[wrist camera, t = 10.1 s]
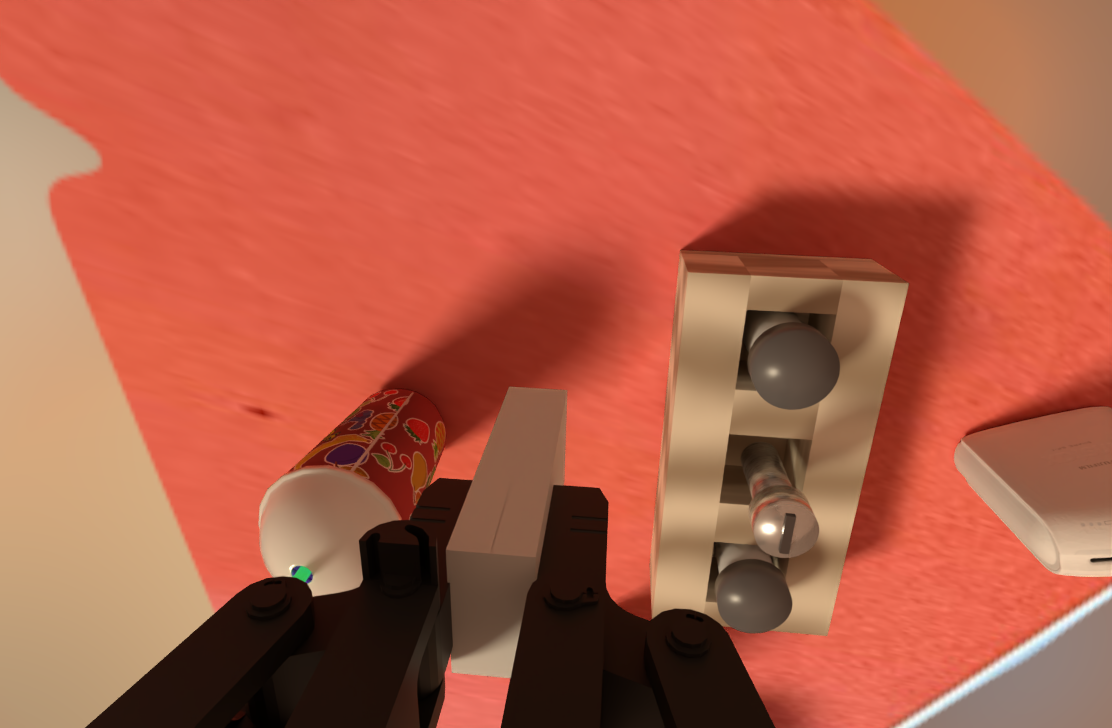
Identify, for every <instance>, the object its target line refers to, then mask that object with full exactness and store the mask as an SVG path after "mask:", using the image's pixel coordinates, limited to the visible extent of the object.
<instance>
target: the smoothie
mask: <svg viewBox="0 0 1112 728" xmlns="http://www.w3.org/2000/svg"><path fill="white" fill-rule="evenodd" d="M445 440H446V431H445V426H444V422H443V420H442V418H441V415H440V413H439V412H438V410H437V408H436V406H435V405H434V404H433V403H432V402H431V401H430V400H429V399H428V398H427V397H425V396H423V395H421V394H419V393H417V392H415V391H411V390H406V389H389V390H382V391H380V392H377V393H375V394H373V395H371V396H370V397H369V398H368V399H366V400H365V401H364V402H363V403H362V404H361V405H360V406H359V407H358V408H357V409H356V410H355V411H354V412H353V413H351V414H350V415H349V416H348V417H347V418H346V419H345V420H344V421H343V422H342V423H341V424H340V425H338V426H337V427H336V428H335V429H334V430H333V431H332V432H331V433H330V434H329V435H328V436H327V437H325V438H324V439H323V440H322V441H321V442H320V443H319V444H318V445H317V446H316V447H315V448H313V449H312V450H311V451H310V452H309V453H308V454H307V455H306V456H305V457H304V458H303V459H302V460H300V461H299V462H298V463H297V464H296V465H295V466H294V467H293V468H292V469H291V470H290V471H289V472H287V473H286V474H284V475H283V476H282V477H280V478H279V479H278V480H277V481H276V482H275V483H274V484H272V485H271V486H270V487H269V488H268V489H267V491H266V493H265V495H264V497H263V499H262V501H261V503H260V509H259V528H260V534H259V546H260V551H261V554H262V558H263V561H264V564H265V566H266V568H267V570H268V571H269V572H270V574H271V575H272V577H279V576H286V577H295V578H298V579H300V580H302V581H304V582H306V583H307V584H308V586H309V588H310V589H311V591H312V595H313V596H320V595H326V594H333V593H340V592H344V591H348V590H352V589H355V588H357V587H359V586H360V584H361V582H362V581H363V575H362V566H361V557H360V548H359V539H360V538H361V537H362V536H363V535H364V534H365V533H366V532H367V531H368V530H370V529H372V528H374V527H376V526H377V525H379V524H383V523H386V522H390V521H394V520H410V516H411V514H412V512H413V510H414V508H416V504H417V502H418V500H419V498H420V496H421V494H422V492H423V490H425V489H426V488H427V487H428V486H429V485H430V483H431V480H432V478H433V475H434V473H435V470H436V467H437V465H438V462H439V460H440V457H441V455H442V452H443V450H444V447H445Z"/></svg>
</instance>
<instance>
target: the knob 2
mask: <svg viewBox="0 0 1112 728" xmlns="http://www.w3.org/2000/svg"><path fill="white" fill-rule="evenodd" d="M714 549H715V554H716V559H717V564H718V569H719V575H718V577H717V579H716V582H715V595H716V600H717V606H718V611H719V614H720V616H721V617H722V619H723V620H724V621H725V622H726V623H727V624H728V625H729V626H731V627H732V628H734V629H736V630H739V631H742V632H746V633H763V632H767V631H770V630H773V629H775V628H777V627H778V626H780V625H781V624H783V623H784V622H785V621H786V620H787V618H788V617H789V615H790V613H791V610H792V597H791V594H790V591H789V588H788V585H787V582H786V579H785V577H784V575H783V573H782V572H781V571H780V570H779V569H778V568H777V567H776V566H774V565H773V564H772V561H771V557H770V555H769V554H767V553H766V552H764V551H763V550H762V549H761V548H760V547H759V546H758V545H749V544H737V543H725V542H714Z"/></svg>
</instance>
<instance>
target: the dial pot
mask: <svg viewBox="0 0 1112 728" xmlns="http://www.w3.org/2000/svg"><path fill="white" fill-rule="evenodd" d="M740 459H741V464H742V467H743V471H744V474H745V477H746V480H747V483H748V487H749V490H750V493H751V496H752V500H751V502H750V504H749V508H748V516H749V520H750V523H751V527H752V530H753V534H754V537H755V540H756V543H757V544H758V546H759V547H760V548H761V549H762V550H763V551H764V552H766V553H767V554H769V555H772V556H775V557H780V558H791V557H796V556H799V555H801V554H803V553H805V552H807V551H808V550H809V549H811V548H812V547H813V545H814V544H815V543H816V541H817V539H818V536H819V524H818V522H817V519H816V517H815V515H814V513H813V510H812V508H811V506H810V504H809V502H808V499H807V498H806V496H805V495H804V494H803V493H802V492H801V491H799V490H798V489H796V488H794V487H792V485H791V483H790V480H789V478H788V476H787V473H786V471H785V469H784V466H783V464H782V462H781V459H780V457H779V455H778V452H777V450H776V449H775V447H774V446H772V445H771V444H769V443H766V442H755V443H752V444H750V445H748V446H747V447H746V448H745V449H744V450H743V451H742V453H741V458H740Z"/></svg>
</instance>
